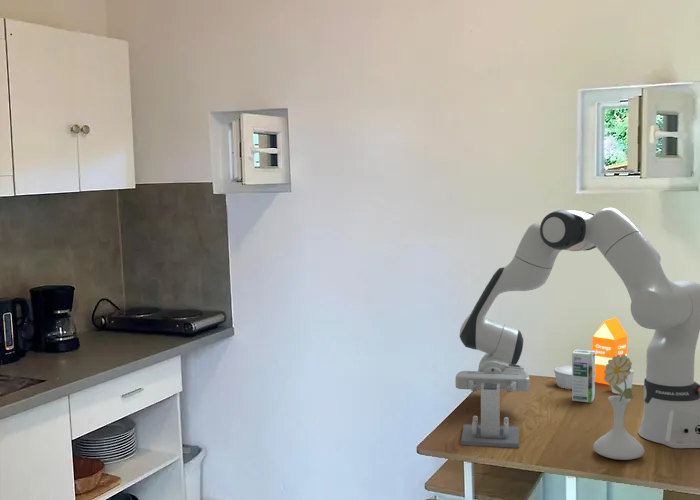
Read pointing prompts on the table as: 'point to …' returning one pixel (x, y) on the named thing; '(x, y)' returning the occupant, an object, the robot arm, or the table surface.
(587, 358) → the syrup box
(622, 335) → the orange juice
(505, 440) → the stand
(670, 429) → the robot arm
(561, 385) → the ramekin
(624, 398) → the flower in vase
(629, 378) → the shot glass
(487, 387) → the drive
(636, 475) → the table surface
